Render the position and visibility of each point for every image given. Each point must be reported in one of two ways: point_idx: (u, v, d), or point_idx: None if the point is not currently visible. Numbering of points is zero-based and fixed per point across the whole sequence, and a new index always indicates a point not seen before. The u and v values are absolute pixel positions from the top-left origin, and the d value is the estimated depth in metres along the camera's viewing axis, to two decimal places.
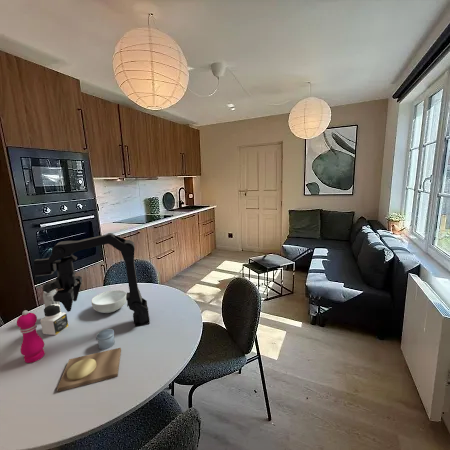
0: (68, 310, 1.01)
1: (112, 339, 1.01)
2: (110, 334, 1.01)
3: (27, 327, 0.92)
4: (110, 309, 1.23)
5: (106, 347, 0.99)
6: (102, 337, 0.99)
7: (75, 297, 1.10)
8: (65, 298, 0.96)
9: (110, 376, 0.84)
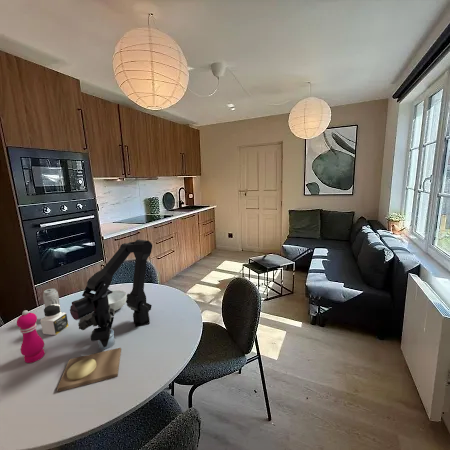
0: (104, 345, 0.98)
1: (112, 339, 1.01)
2: (110, 334, 1.01)
3: (27, 327, 0.92)
4: None
5: (106, 347, 0.99)
6: None
7: None
8: (103, 337, 0.92)
9: (110, 376, 0.84)
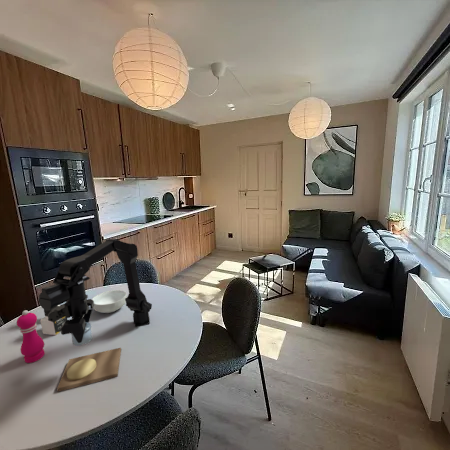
0: (79, 341, 0.84)
1: (88, 334, 0.87)
2: (86, 328, 0.87)
3: (27, 327, 0.92)
4: (110, 309, 1.23)
5: (81, 343, 0.85)
6: None
7: None
8: (75, 330, 0.78)
9: (110, 376, 0.84)
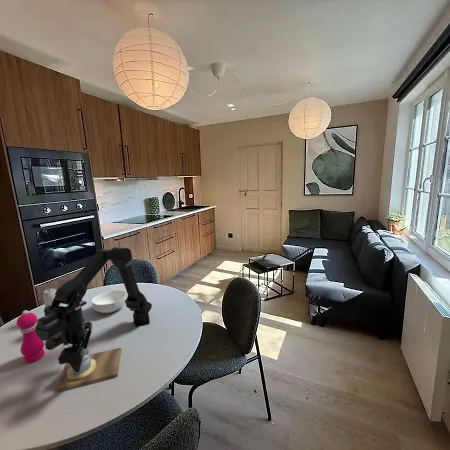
0: (76, 371, 0.82)
1: (87, 361, 0.86)
2: (85, 356, 0.85)
3: (27, 327, 0.92)
4: (110, 309, 1.23)
5: (80, 371, 0.84)
6: None
7: None
8: (73, 359, 0.77)
9: (110, 376, 0.84)
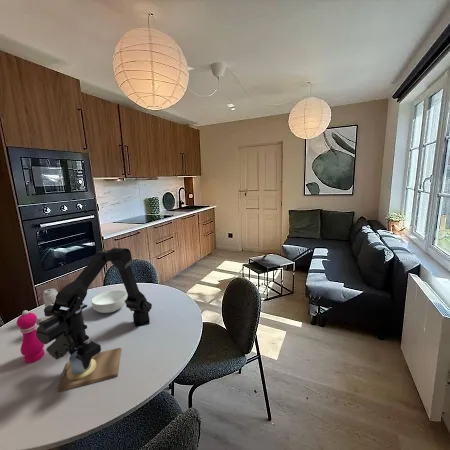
0: (86, 367, 0.85)
1: None
2: None
3: (27, 327, 0.92)
4: (110, 309, 1.23)
5: (80, 371, 0.84)
6: (75, 360, 0.84)
7: None
8: (96, 352, 0.81)
9: (110, 376, 0.84)
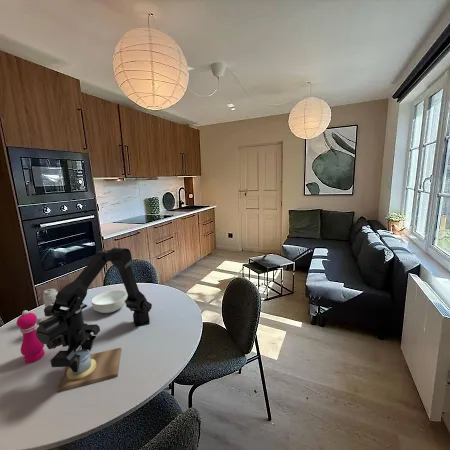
0: (74, 371, 0.83)
1: None
2: None
3: (27, 327, 0.92)
4: (110, 309, 1.23)
5: None
6: None
7: None
8: (62, 365, 0.76)
9: (110, 376, 0.84)
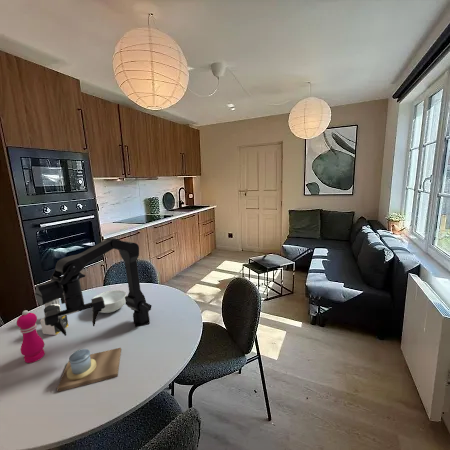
0: None
1: (71, 366, 0.84)
2: (71, 359, 0.84)
3: (27, 327, 0.92)
4: (110, 309, 1.23)
5: None
6: (75, 353, 0.87)
7: (92, 322, 0.95)
8: None
9: (110, 376, 0.84)
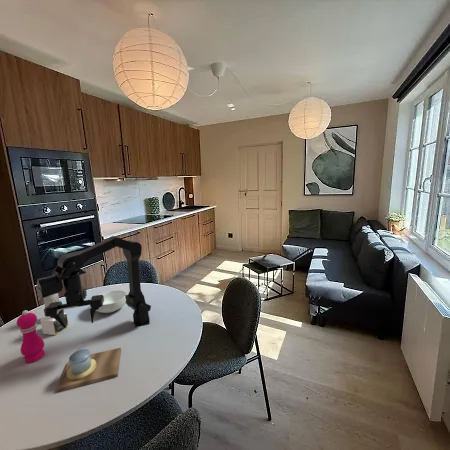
0: None
1: (71, 366, 0.84)
2: (71, 359, 0.84)
3: (27, 327, 0.92)
4: (110, 309, 1.23)
5: None
6: (75, 353, 0.87)
7: None
8: None
9: (110, 376, 0.84)
